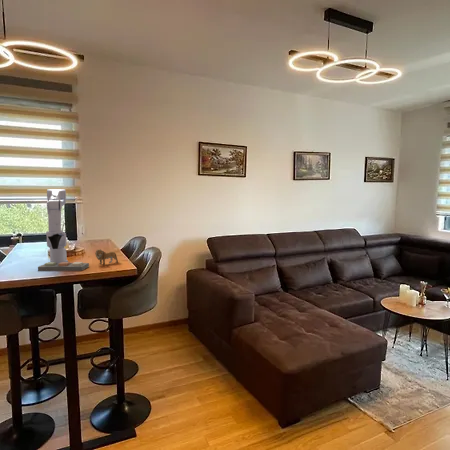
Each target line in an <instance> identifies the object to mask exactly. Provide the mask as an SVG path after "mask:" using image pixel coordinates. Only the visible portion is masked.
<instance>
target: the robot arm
mask: <svg viewBox="0 0 450 450" xmlns="http://www.w3.org/2000/svg"><path fill="white" fill-rule="evenodd" d="M46 198H47V201H46V211H47V219H48V221H47V223H48V230H47V231H46V232H45V233H46V235H45V236H46V247H48V249H49V257H50V258H49V260H50V261H49V262H56V263H61V262H69V260H68V259H67V249H66V248H65V247H66V246H67V233H66V232H65V231H63V230H62V208H63V207H64V206H65V205H66V203H67V202H66V201H67V190H66V189H62V188H61V189H60V188H59V189H58V188H57V189H56V188H55V189H53V188H51V189H50V188H47V190H46Z"/></svg>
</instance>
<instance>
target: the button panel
mask: <svg viewBox="0 0 450 450" xmlns="http://www.w3.org/2000/svg"><path fill="white" fill-rule="evenodd" d="M72 263H73V262H70V265H68V266H59V263H56V265H54V266H45V263H43V264H42V265H39V266H38V267H37V271H40V272H42V271H45V272H46V271H49V272H50V271H55V272H58V271H60V272H61V271H62V272H63V271H64V272H65V271H66V272H67V271H69V272H70V271H74V272H75V271H84V270H86V269H87V268H89V267H90V264H89V262H83V265H81V266H72Z"/></svg>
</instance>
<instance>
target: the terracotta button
mask: <svg viewBox="0 0 450 450" xmlns="http://www.w3.org/2000/svg"><path fill="white" fill-rule="evenodd" d="M70 263H71V262H70V261H68V262H61V263H59V266H68V265H70Z"/></svg>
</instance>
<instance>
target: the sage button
mask: <svg viewBox="0 0 450 450" xmlns="http://www.w3.org/2000/svg"><path fill="white" fill-rule="evenodd" d="M44 264H45V266H54V265H56V262H50V261H47V262H45V263H44Z"/></svg>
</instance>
